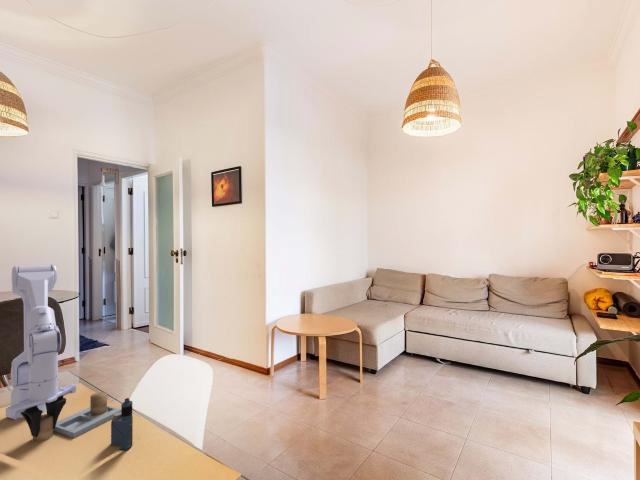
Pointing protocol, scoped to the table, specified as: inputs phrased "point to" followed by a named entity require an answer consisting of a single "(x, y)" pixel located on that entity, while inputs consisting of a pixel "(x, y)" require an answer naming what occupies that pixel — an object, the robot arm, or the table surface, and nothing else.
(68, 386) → the robot arm
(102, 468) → the table surface
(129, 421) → the vaping device
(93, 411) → the sleeve seated
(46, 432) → the sleeve
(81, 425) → the grey divided tray
